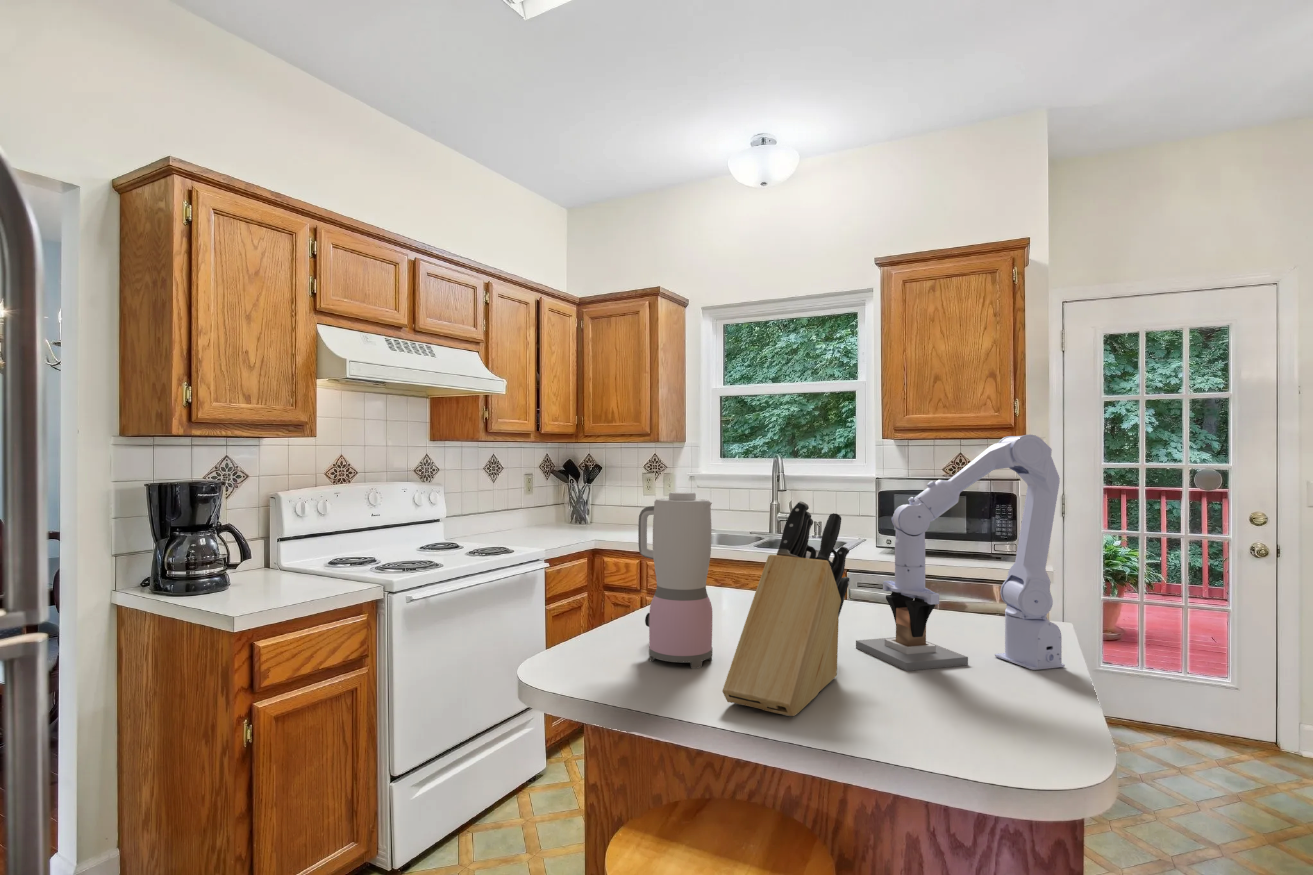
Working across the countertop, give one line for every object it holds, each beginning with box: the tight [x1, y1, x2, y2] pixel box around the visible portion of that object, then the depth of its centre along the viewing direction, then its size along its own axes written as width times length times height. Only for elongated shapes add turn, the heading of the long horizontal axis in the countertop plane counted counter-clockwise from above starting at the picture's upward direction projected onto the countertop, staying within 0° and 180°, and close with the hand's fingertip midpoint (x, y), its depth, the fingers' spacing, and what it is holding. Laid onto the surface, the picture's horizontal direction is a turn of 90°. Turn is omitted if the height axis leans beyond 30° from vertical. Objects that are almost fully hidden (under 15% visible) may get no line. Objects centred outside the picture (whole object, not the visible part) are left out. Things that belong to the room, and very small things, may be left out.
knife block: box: [722, 500, 850, 717], centre depth 119 cm, size 11×35×31 cm, turn 150°
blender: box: [637, 491, 713, 669], centre depth 134 cm, size 16×12×32 cm
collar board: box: [855, 636, 969, 672], centre depth 137 cm, size 16×14×3 cm
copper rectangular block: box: [895, 607, 927, 647], centre depth 137 cm, size 4×4×7 cm
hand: (909, 633), depth 137 cm, fingers closed on copper rectangular block, 4 cm apart
